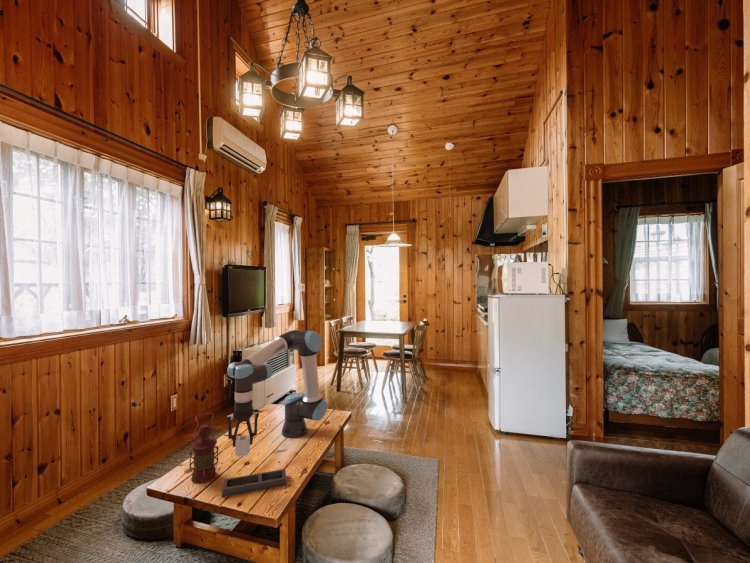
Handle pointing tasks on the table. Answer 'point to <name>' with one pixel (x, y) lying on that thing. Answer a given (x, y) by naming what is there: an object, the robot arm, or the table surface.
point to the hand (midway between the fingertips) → (242, 452)
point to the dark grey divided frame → (253, 486)
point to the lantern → (203, 455)
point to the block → (242, 445)
